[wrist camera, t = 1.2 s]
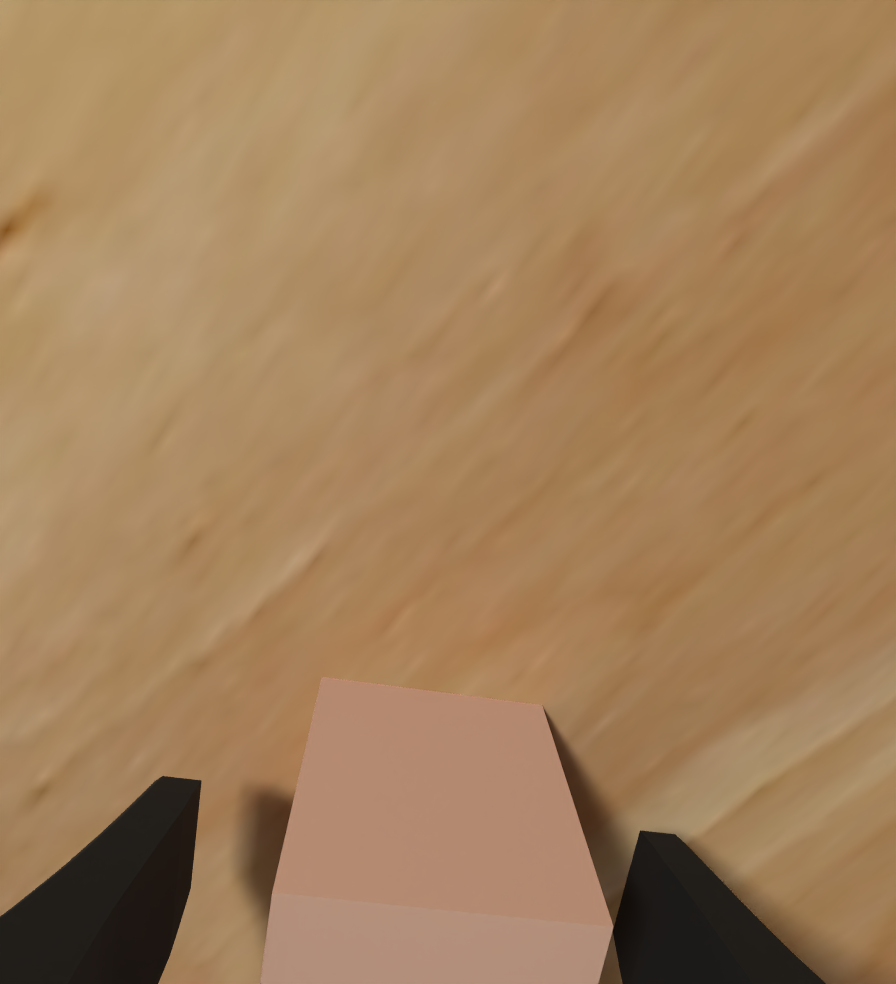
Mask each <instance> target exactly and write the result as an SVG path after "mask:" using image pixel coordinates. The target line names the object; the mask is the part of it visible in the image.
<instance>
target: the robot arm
mask: <svg viewBox="0 0 896 984" xmlns="http://www.w3.org/2000/svg"><path fill="white" fill-rule="evenodd" d="M200 790H201V780H192V779H183V778H174V777H166V776H162V777H160V778H159V779H158V780H156V781H155V782H154V783H153V784H152V785H151V786H150V787H149V788H148V789H147V790H146V791H145V792H144V793H143V794H142V795H141V796H140V797H138V798H137V799H136V800H135V801H134V802H133V803H132V804H131V805H130V806H129V807H128V808H127V809H126V810H125V811H124V812H123V813H122V814H121V815H120V816H119V817H118V818H117V819H116V820H115V821H114V822H112V823H111V824H110V825H109V826H108V827H107V828H106V829H105V830H104V831H103V832H102V833H101V834H99V835H98V836H97V837H96V838H95V839H94V840H93V841H92V842H90V843H89V844H88V845H87V846H86V847H85V848H84V849H83V850H81V851H80V852H79V853H78V854H77V855H76V856H75V857H74V858H72V859H71V860H70V861H69V862H68V863H67V864H66V865H64V866H63V867H62V868H61V869H60V870H58V871H57V872H56V873H55V874H54V875H52V876H51V877H50V878H49V879H47V880H46V881H45V882H44V883H42V884H41V885H40V886H39V887H37V888H36V889H35V890H34V891H32V892H31V893H30V894H29V895H27V896H26V897H25V898H24V899H22V900H21V901H20V902H19V903H17V904H16V905H15V906H14V907H12V908H11V909H10V910H8V911H7V912H6V913H4V914H3V915H2V916H0V984H158V982H159V980H160V978H161V975H162V973H163V971H164V968H165V966H166V963H167V961H168V959H169V956H170V953H171V950H172V947H173V944H174V941H175V938H176V934H177V931H178V928H179V925H180V922H181V918H182V915H183V912H184V908H185V905H186V902H187V899H188V895H189V892H190V889H191V880H192V870H193V860H194V850H195V840H196V830H197V820H198V810H199V800H200ZM613 934H614V940H615V945H616V951H617V956H618V962H619V968H620V972H621V977H622V982H623V984H826V983H824V982H823V981H822V980H821V979H820V978H819V977H818V976H817V975H816V974H815V973H814V972H813V971H811V970H810V969H809V968H808V967H807V966H806V965H805V964H804V963H803V962H802V961H801V960H800V959H798V958H797V957H796V956H795V955H794V954H793V953H792V952H791V951H790V950H789V949H788V948H787V947H786V946H785V945H784V944H783V943H782V942H781V941H780V940H779V939H778V938H777V937H776V936H775V935H774V934H773V933H772V932H771V931H770V930H769V929H768V928H767V927H766V926H765V925H764V924H763V923H762V922H761V921H760V920H759V919H758V918H757V917H756V916H755V915H754V914H753V913H752V912H751V911H750V910H749V909H748V908H747V907H746V906H745V905H744V904H743V903H742V902H741V901H740V900H739V899H738V898H737V897H736V896H735V895H734V894H733V893H732V892H731V891H730V889H729V888H728V887H727V886H726V885H725V884H724V883H723V882H722V881H721V880H720V879H719V878H718V877H717V876H716V875H715V874H714V873H713V872H712V871H711V870H710V869H709V868H708V867H707V866H706V864H705V863H704V862H703V861H702V860H701V859H700V858H699V857H698V856H697V855H696V854H695V853H694V852H693V851H692V850H691V849H690V848H689V847H688V846H687V845H686V844H685V843H684V842H683V841H682V840H681V839H680V838H679V837H677V836H676V835H675V834H666V833H657V832H649V831H640V833H639V837H638V840H637V844H636V848H635V851H634V855H633V859H632V862H631V866H630V870H629V874H628V877H627V881H626V885H625V888H624V892H623V896H622V899H621V903H620V907H619V910H618V914H617V918H616V922H615V925H614V929H613Z"/></svg>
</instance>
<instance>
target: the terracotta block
mask: <svg viewBox="0 0 896 984" xmlns="http://www.w3.org/2000/svg"><path fill="white" fill-rule="evenodd" d="M612 931H613V924H612V921H611V918H610V914H609V911H608V908H607V905H606V902H605V899H604V896H603V893H602V890H601V886H600V883H599V880H598V877H597V874H596V871H595V868H594V865H593V862H592V859H591V855H590V852H589V849H588V846H587V843H586V840H585V837H584V834H583V831H582V827H581V824H580V821H579V818H578V815H577V812H576V809H575V806H574V803H573V799H572V796H571V793H570V790H569V787H568V784H567V781H566V778H565V775H564V771H563V768H562V765H561V762H560V759H559V756H558V753H557V750H556V747H555V744H554V740H553V737H552V734H551V731H550V728H549V725H548V722H547V719H546V716H545V712H544V709H543V706H542V705H537V704H530V703H522V702H514V701H506V700H498V699H491V698H483V697H475V696H467V695H460V694H452V693H444V692H436V691H428V690H421V689H413V688H405V687H397V686H390V685H382V684H374V683H366V682H358V681H351V680H343V679H335V678H327V677H322V678H321V683H320V687H319V691H318V696H317V700H316V704H315V709H314V713H313V717H312V722H311V726H310V730H309V735H308V739H307V743H306V748H305V752H304V756H303V761H302V765H301V770H300V774H299V778H298V783H297V787H296V791H295V796H294V800H293V804H292V809H291V813H290V817H289V822H288V826H287V830H286V835H285V839H284V843H283V848H282V852H281V856H280V861H279V865H278V869H277V874H276V878H275V883H274V887H273V891H272V898H271V905H270V913H269V920H268V928H267V935H266V943H265V950H264V958H263V965H262V973H261V980H260V984H598V983H599V979H600V976H601V972H602V968H603V964H604V961H605V957H606V953H607V950H608V946H609V942H610V939H611V935H612Z"/></svg>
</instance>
